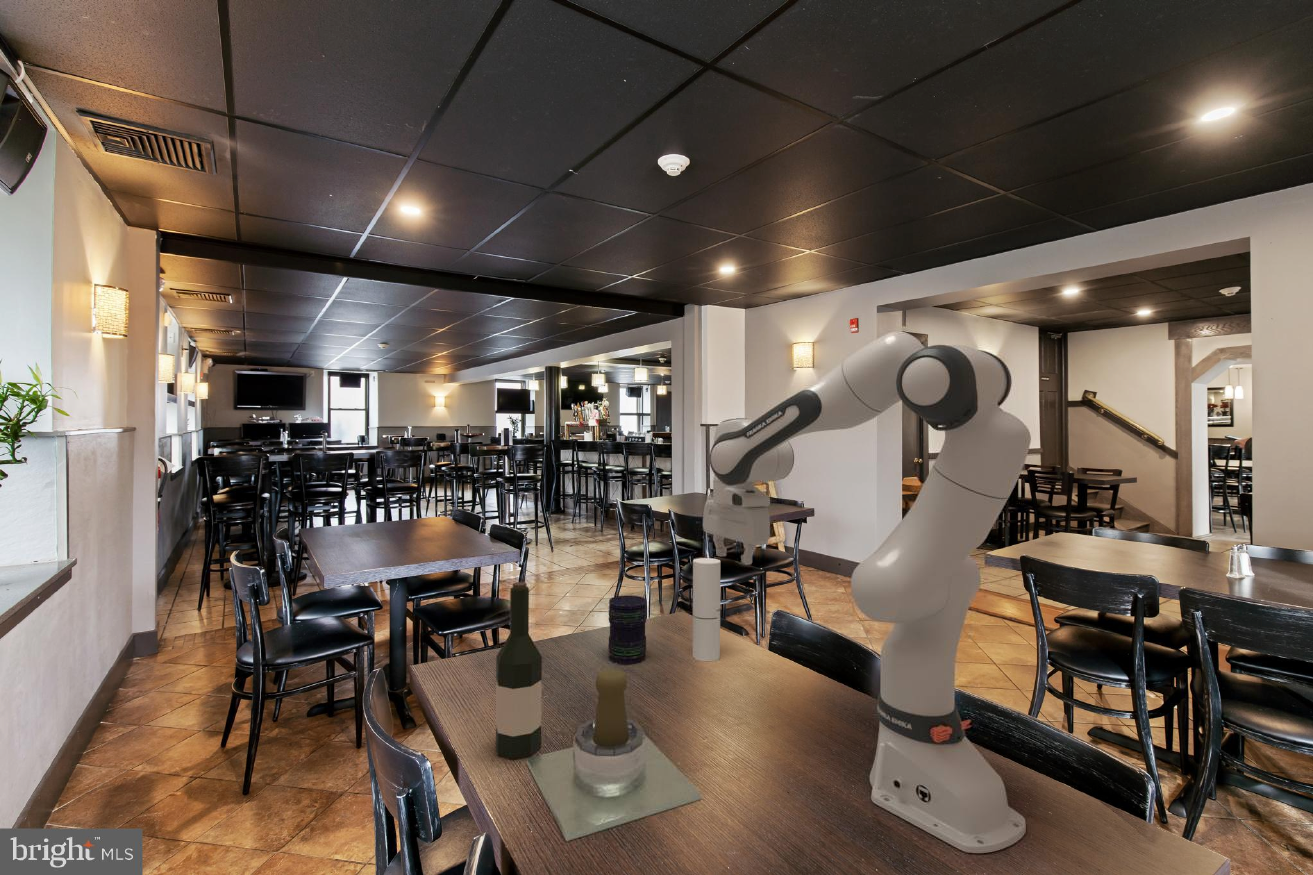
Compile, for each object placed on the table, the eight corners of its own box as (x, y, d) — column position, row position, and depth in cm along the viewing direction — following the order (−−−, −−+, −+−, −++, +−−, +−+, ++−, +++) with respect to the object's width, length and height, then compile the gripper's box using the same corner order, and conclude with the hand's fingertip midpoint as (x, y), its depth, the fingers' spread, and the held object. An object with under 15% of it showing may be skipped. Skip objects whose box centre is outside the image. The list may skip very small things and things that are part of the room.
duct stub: (700, 799, 92) (701, 748, 92) (566, 841, 82) (566, 784, 82) (641, 735, 112) (641, 693, 112) (526, 763, 102) (527, 717, 102)
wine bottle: (525, 731, 113) (527, 576, 113) (550, 748, 107) (551, 583, 108) (486, 747, 107) (487, 583, 108) (510, 765, 101) (511, 591, 102)
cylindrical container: (724, 654, 155) (725, 560, 155) (712, 663, 149) (712, 564, 149) (700, 649, 159) (701, 557, 159) (687, 657, 152) (688, 561, 153)
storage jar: (654, 657, 153) (654, 600, 153) (627, 668, 145) (628, 607, 145) (626, 648, 159) (627, 593, 159) (600, 658, 152) (600, 600, 152)
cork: (625, 749, 94) (625, 680, 94) (588, 746, 95) (589, 678, 95) (632, 730, 100) (632, 666, 100) (597, 728, 101) (598, 663, 101)
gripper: (696, 491, 133) (695, 552, 133) (749, 499, 115) (749, 570, 115) (719, 490, 136) (719, 550, 136) (775, 498, 118) (775, 567, 118)
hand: (733, 559), depth 125 cm, fingers open, 8 cm apart
